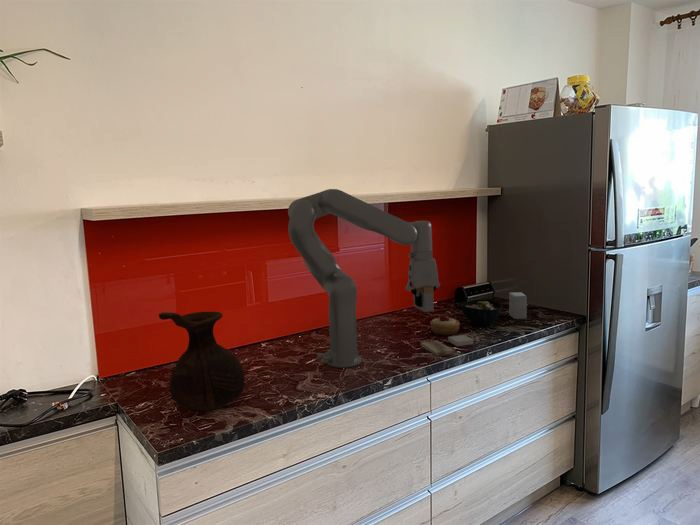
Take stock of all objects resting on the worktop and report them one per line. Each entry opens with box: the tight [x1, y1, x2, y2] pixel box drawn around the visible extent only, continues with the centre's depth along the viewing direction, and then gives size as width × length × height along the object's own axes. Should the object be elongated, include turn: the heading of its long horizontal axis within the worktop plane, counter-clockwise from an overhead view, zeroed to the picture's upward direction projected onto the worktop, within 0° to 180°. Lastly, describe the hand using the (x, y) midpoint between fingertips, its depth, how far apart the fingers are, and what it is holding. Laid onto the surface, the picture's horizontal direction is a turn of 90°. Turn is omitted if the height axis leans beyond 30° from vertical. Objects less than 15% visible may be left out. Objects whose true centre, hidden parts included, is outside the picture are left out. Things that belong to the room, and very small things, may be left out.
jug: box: [158, 311, 246, 412], centre depth 153 cm, size 22×22×30 cm
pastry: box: [430, 310, 460, 337], centre depth 218 cm, size 12×12×9 cm
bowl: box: [460, 299, 503, 327], centre depth 228 cm, size 17×17×10 cm
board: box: [420, 340, 455, 357], centre depth 197 cm, size 7×13×1 cm, turn 19°
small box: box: [508, 291, 528, 320], centre depth 238 cm, size 8×6×10 cm
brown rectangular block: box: [412, 286, 435, 313], centre depth 191 cm, size 4×9×9 cm, turn 19°
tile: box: [447, 334, 474, 347], centre depth 204 cm, size 2×7×7 cm
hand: (423, 305), depth 191 cm, fingers closed on brown rectangular block, 3 cm apart
